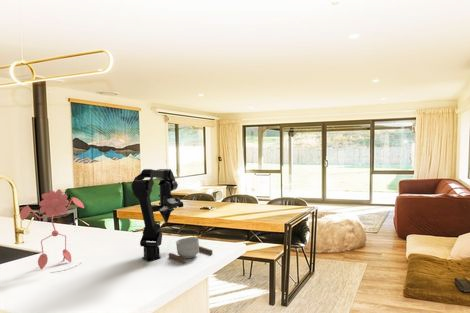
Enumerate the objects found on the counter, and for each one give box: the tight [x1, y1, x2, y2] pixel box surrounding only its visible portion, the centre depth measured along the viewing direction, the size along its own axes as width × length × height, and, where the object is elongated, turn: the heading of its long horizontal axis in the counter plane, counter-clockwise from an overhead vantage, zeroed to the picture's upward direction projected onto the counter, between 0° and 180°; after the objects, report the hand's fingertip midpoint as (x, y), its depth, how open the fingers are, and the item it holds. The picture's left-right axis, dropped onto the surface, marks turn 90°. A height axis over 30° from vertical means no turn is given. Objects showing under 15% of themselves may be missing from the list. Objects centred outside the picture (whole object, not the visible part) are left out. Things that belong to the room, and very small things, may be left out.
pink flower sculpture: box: [19, 188, 85, 274], centre depth 154 cm, size 15×26×35 cm, turn 132°
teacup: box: [175, 236, 200, 259], centre depth 166 cm, size 14×11×8 cm
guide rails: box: [168, 245, 213, 264], centre depth 166 cm, size 17×12×2 cm
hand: (166, 222), depth 180 cm, fingers closed
